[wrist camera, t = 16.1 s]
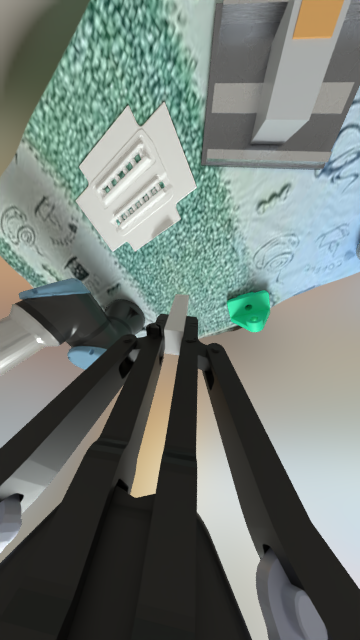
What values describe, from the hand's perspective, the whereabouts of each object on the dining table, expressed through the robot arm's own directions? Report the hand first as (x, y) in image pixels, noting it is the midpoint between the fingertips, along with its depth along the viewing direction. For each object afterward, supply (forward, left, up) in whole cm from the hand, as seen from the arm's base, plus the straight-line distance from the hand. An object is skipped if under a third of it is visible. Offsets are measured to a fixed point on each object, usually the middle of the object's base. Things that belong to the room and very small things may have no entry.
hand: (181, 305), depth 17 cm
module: (+12, +26, -28) cm, 40 cm away
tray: (-16, +13, -30) cm, 37 cm away
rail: (+12, +26, -29) cm, 41 cm away
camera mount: (+19, -13, -30) cm, 38 cm away
